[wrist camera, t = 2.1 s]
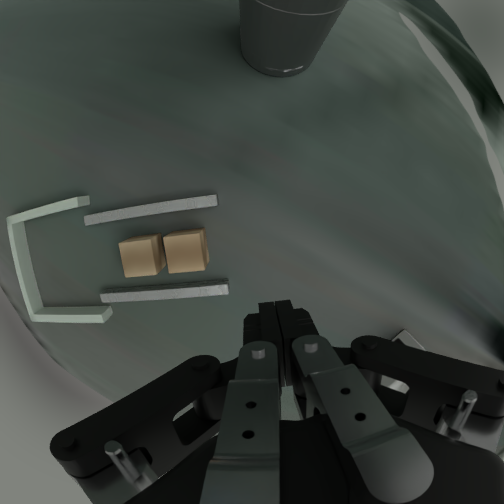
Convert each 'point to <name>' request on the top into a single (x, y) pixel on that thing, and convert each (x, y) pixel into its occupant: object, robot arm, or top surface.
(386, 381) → the container
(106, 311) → the frame
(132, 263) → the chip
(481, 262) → the top surface
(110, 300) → the slot rails
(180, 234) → the tan cube
